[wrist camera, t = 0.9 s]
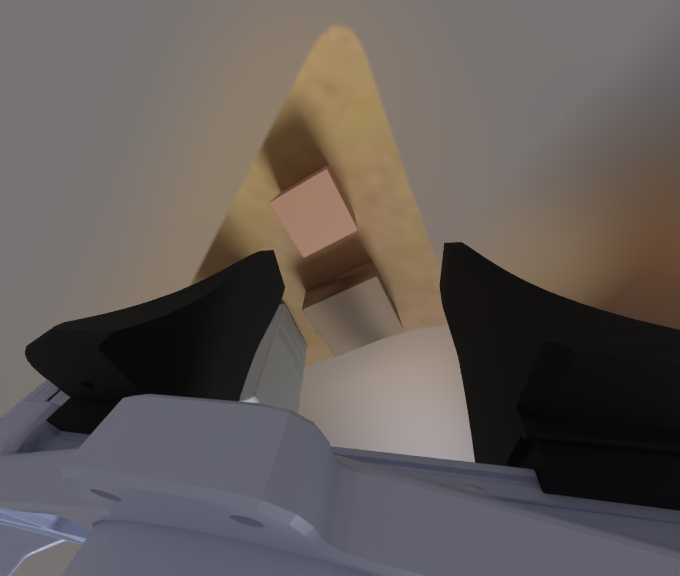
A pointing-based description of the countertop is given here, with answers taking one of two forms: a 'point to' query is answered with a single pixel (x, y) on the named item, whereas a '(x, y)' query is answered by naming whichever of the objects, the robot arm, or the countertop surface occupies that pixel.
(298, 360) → the supplement box
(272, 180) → the countertop surface
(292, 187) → the terracotta cube
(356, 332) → the walnut slab
